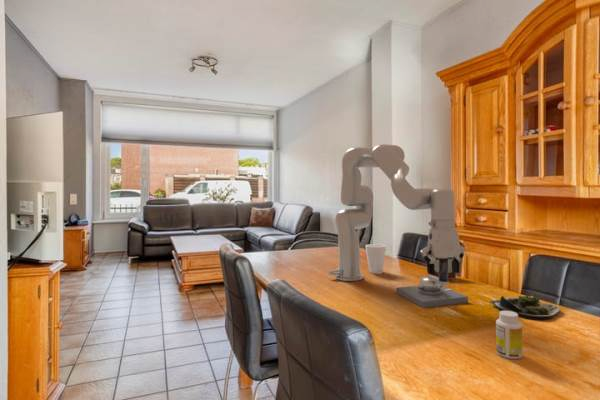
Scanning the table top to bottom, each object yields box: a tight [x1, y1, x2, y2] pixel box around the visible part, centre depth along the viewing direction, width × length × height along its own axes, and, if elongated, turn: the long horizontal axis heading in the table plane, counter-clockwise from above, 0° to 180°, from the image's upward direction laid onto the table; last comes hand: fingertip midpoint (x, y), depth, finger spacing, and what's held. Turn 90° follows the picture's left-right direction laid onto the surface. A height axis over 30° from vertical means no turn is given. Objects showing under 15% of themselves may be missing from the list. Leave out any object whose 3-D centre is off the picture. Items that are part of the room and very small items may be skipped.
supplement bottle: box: [495, 310, 523, 360], centre depth 87 cm, size 6×6×10 cm
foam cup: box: [365, 243, 387, 275], centre depth 173 cm, size 10×9×13 cm
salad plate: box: [489, 295, 561, 321], centre depth 119 cm, size 19×18×5 cm
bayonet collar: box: [418, 258, 450, 292], centre depth 130 cm, size 13×9×14 cm
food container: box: [433, 258, 457, 280], centre depth 161 cm, size 12×6×10 cm, turn 84°
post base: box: [395, 284, 469, 308], centre depth 133 cm, size 18×18×3 cm
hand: (443, 273), depth 125 cm, fingers open, 9 cm apart
